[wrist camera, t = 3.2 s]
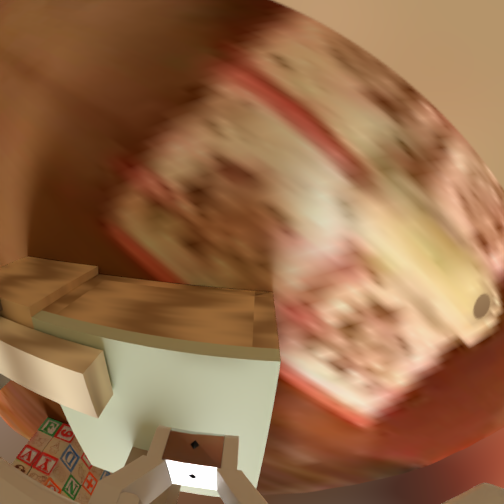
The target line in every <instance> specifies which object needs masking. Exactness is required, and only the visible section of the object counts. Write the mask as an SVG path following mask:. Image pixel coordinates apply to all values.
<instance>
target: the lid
mask: <svg viewBox="0 0 504 504" xmlns="http://www.w3.org/2000/svg"><path fill="white" fill-rule="evenodd" d="M31 318H32V322H33V326H34V330H37V331H40V332H43V333H46V334H49V335H52V336H55V337H58V338H61V339H64V340H68V341H71V342H74V343H78V344H81V345H85V346H89V347H92V348H96V349H100V350H103V352H104V357H105V362H106V366H107V370H108V374H109V378H110V382H111V386H112V390H113V396H112V397H111V399H110V400H109V402H108V403H107V405H106V407H105V408H104V410H103V411H102V413H101V415H100V416H99V418H95V417H92V416H89V415H87V414H84V413H81V412H79V411H76V410H73V409H71V408H69V407H66V406H64V405H61V404H60V405H61V407H62V409H63V412H64V414H65V416H66V418H67V420H68V422H69V424H70V426H71V428H72V430H73V432H74V434H75V436H76V438H77V440H78V442H79V444H80V446H81V447H82V449H83V451H84V453H85V454H86V456H87V458H88V460H89V461H90V463H91V465H93V466H96V467H98V468H101V469H104V470H106V471H109V472H112V473H114V472H116V471H117V470H119V469H121V468H122V467H124V466H126V465H128V464H129V463H131V462H132V461H134V460H136V459H137V458H139V457H141V456H142V455H145V456H147V453H148V450H149V448H150V445H151V442H152V440H153V437H154V434H155V431H156V429H157V427H158V426H159V425H162V426H167V427H172V428H177V429H182V430H188V431H193V432H204V433H213V434H225V435H233V436H239V448H238V466H237V470H242V472H243V473H244V474H245V476H246V477H247V478H248V480H249V481H250V482H251V483H252V485H253V486H254V487H255V488H256V487H257V483H258V479H259V474H260V469H261V465H262V460H263V455H264V451H265V446H266V441H267V436H268V431H269V425H270V420H271V415H272V409H273V404H274V398H275V393H276V387H277V381H278V375H279V369H280V363H281V359H280V350H279V349H273V348H257V347H244V346H233V345H223V344H213V343H204V342H196V341H188V340H181V339H174V338H167V337H161V336H155V335H149V334H143V333H137V332H132V331H127V330H122V329H117V328H112V327H107V326H102V325H98V324H93V323H89V322H85V321H80V320H76V319H72V318H68V317H64V316H61V315H57V314H53V313H50V312H46V311H43V310H41V311H40V312H38V313H37V314H35V315H34V316H33V317H31ZM180 491H183V492H188V493H194V494H201V495H208V496H216V497H220V495H219V493H218V492H217V490H213V489H206V488H199V487H193V486H186V485H179V484H173V483H172V485H171V486H170V487H169V488H167V489H166V490H165V491H164V492H163V493H162V494H160V495H159V496H158V497H157V498H156V499H154V500H153V501H152V502H151V503H149V504H177V500H178V496H179V492H180Z"/></svg>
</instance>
